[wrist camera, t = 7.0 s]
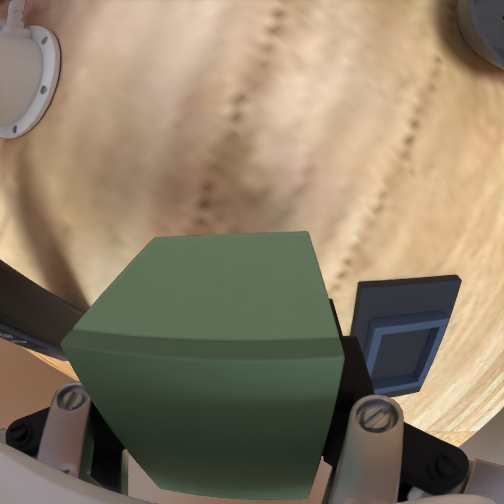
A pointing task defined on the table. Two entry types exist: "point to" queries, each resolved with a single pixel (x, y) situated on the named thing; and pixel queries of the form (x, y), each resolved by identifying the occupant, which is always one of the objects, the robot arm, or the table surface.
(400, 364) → the black pad
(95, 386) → the green block
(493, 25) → the bowl
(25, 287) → the wine bottle
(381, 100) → the table surface
